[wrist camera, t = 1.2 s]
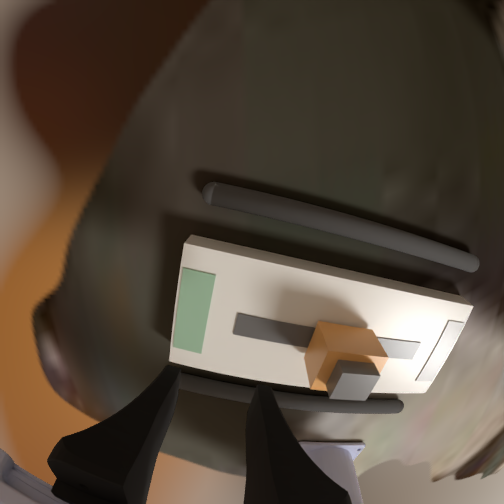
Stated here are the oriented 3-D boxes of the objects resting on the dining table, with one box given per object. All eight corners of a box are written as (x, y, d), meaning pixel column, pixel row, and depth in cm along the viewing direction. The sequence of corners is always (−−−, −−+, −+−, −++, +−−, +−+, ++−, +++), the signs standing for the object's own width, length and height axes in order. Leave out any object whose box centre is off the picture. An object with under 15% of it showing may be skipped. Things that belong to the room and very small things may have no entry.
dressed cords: (396, 406, 24) (401, 415, 22) (175, 379, 23) (171, 390, 21) (474, 254, 19) (484, 259, 17) (206, 178, 18) (202, 180, 16)
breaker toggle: (355, 363, 19) (373, 406, 15) (303, 357, 19) (312, 403, 15) (372, 329, 18) (395, 369, 14) (318, 320, 18) (332, 364, 14)
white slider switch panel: (416, 379, 23) (425, 393, 21) (175, 345, 22) (168, 361, 20) (460, 295, 20) (474, 306, 18) (191, 234, 19) (183, 243, 17)
